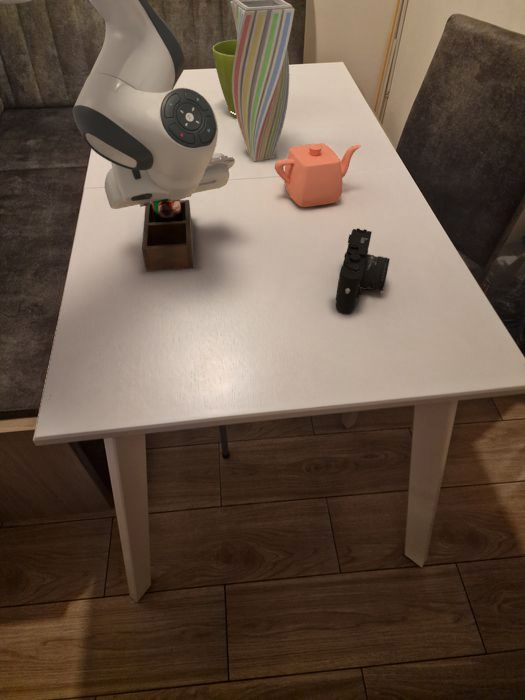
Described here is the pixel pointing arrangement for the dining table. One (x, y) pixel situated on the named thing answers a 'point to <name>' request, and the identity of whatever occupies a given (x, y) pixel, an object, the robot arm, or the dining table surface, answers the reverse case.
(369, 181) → the dining table surface
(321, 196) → the teapot
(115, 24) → the robot arm
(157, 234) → the caddy
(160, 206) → the soda can
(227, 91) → the flower pot
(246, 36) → the vase
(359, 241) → the camera
